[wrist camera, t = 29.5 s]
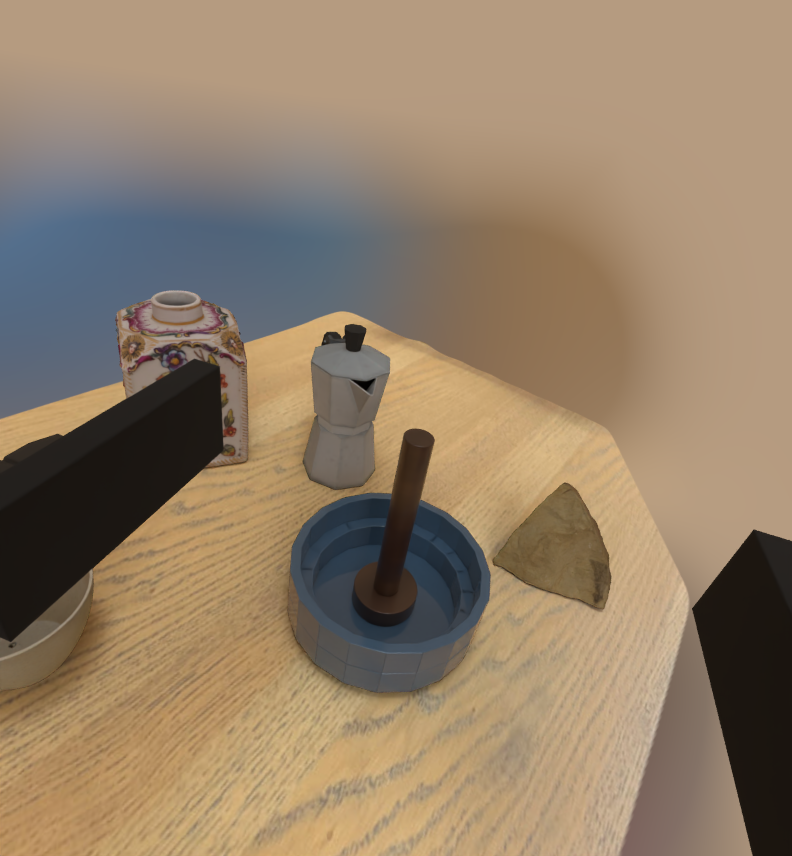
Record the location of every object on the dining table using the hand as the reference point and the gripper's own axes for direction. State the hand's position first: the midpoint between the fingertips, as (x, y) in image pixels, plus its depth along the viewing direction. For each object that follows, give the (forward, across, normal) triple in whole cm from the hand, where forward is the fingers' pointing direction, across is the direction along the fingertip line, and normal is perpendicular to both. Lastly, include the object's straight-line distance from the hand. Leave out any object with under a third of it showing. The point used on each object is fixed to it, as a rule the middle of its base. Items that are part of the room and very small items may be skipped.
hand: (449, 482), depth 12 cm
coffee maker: (+36, -16, -30) cm, 49 cm away
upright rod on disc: (+18, -4, -29) cm, 35 cm away
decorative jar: (+30, -32, -30) cm, 54 cm away
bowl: (+18, -4, -30) cm, 35 cm away
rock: (+28, +11, -30) cm, 43 cm away
